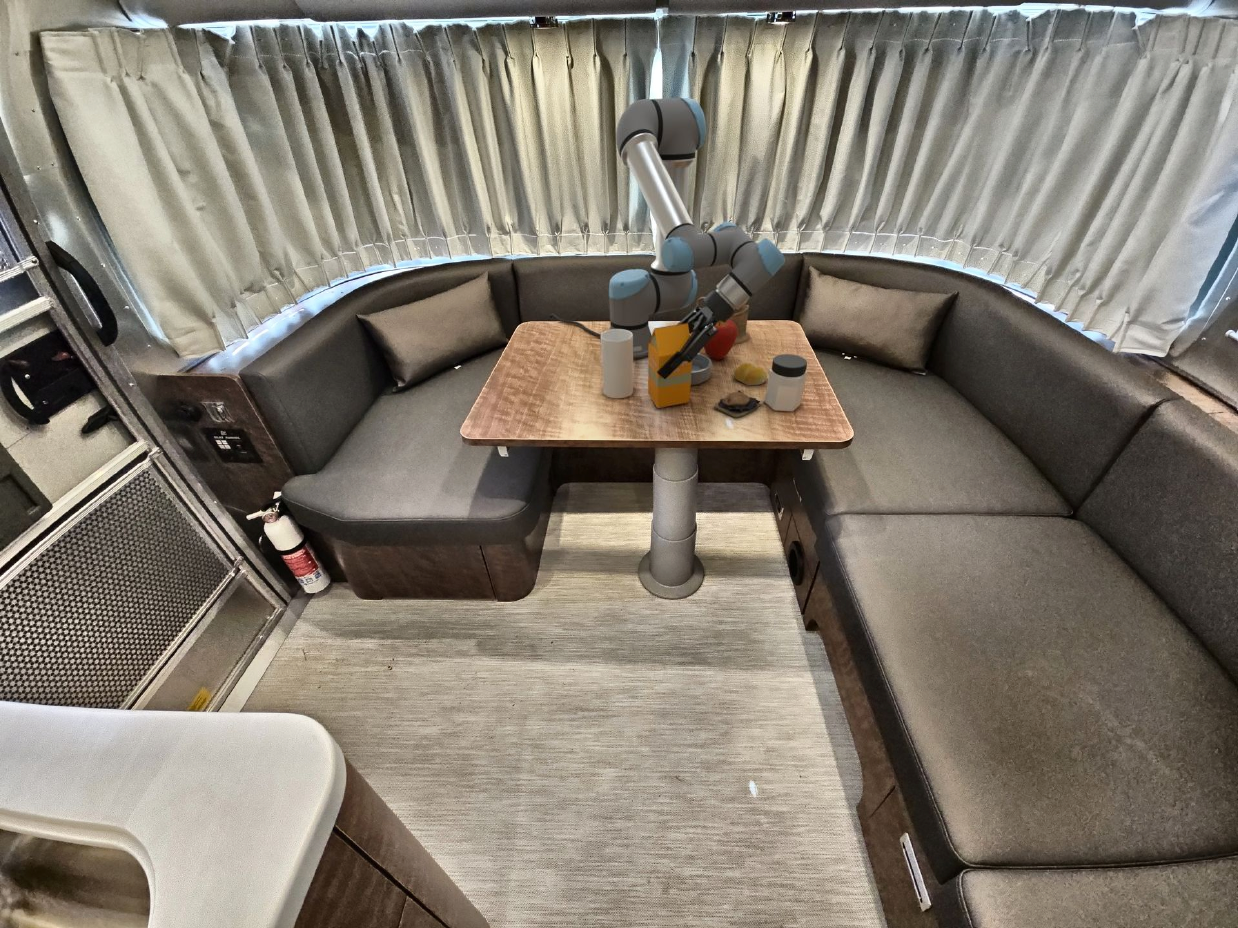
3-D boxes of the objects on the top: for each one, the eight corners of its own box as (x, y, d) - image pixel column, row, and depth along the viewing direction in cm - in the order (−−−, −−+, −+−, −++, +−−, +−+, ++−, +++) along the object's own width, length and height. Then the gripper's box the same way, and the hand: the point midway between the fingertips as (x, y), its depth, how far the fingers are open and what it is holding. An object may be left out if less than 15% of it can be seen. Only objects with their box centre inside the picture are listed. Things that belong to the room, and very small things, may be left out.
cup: (611, 401, 140) (609, 343, 131) (598, 388, 146) (595, 332, 137) (638, 393, 143) (638, 337, 134) (624, 381, 149) (623, 326, 140)
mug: (699, 326, 182) (702, 291, 175) (751, 332, 176) (756, 296, 169) (689, 338, 173) (691, 302, 166) (743, 346, 167) (748, 308, 160)
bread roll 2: (737, 420, 131) (739, 407, 128) (711, 407, 136) (712, 395, 134) (764, 405, 136) (766, 393, 134) (738, 394, 141) (739, 381, 139)
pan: (651, 373, 153) (651, 360, 151) (687, 360, 159) (688, 347, 157) (683, 391, 144) (684, 377, 141) (721, 376, 150) (722, 363, 148)
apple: (701, 348, 166) (704, 310, 159) (736, 351, 164) (740, 313, 157) (695, 363, 158) (698, 324, 150) (732, 367, 155) (736, 327, 148)
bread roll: (754, 389, 143) (756, 375, 141) (728, 378, 149) (729, 365, 147) (772, 379, 148) (774, 366, 145) (747, 369, 153) (748, 356, 151)
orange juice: (689, 402, 137) (694, 329, 125) (657, 408, 135) (659, 335, 123) (678, 387, 143) (682, 316, 130) (647, 393, 141) (648, 321, 129)
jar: (806, 408, 134) (815, 365, 127) (778, 415, 132) (786, 370, 125) (785, 393, 141) (793, 351, 134) (759, 399, 139) (765, 356, 132)
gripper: (749, 326, 118) (676, 396, 126) (722, 296, 135) (659, 359, 143) (729, 304, 115) (654, 377, 123) (703, 276, 132) (639, 342, 140)
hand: (657, 367), depth 133 cm, fingers closed on orange juice, 8 cm apart
